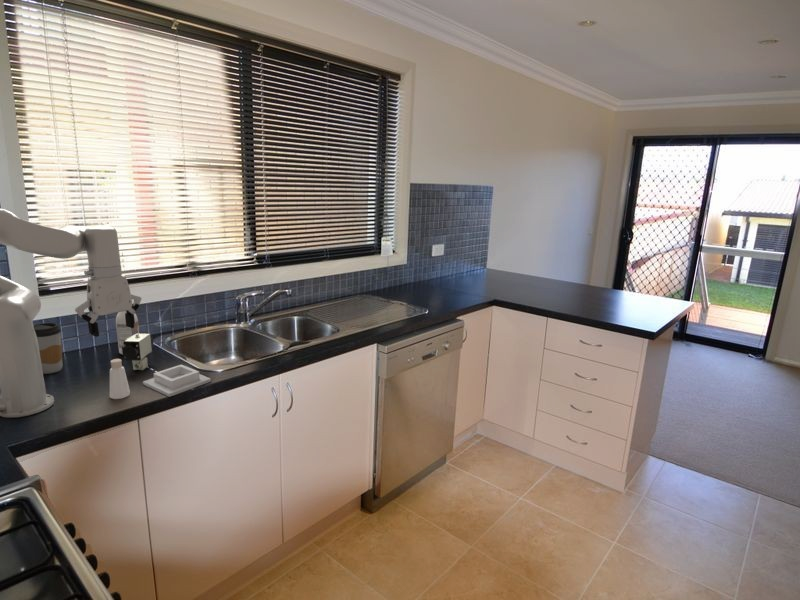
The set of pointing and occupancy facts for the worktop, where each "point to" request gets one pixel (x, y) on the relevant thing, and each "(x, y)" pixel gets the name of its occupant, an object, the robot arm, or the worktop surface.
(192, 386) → the flange
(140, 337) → the pneumatic valve
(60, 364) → the coffee cup
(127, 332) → the bath foam
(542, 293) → the worktop surface
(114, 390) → the salt shaker
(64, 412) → the worktop surface
